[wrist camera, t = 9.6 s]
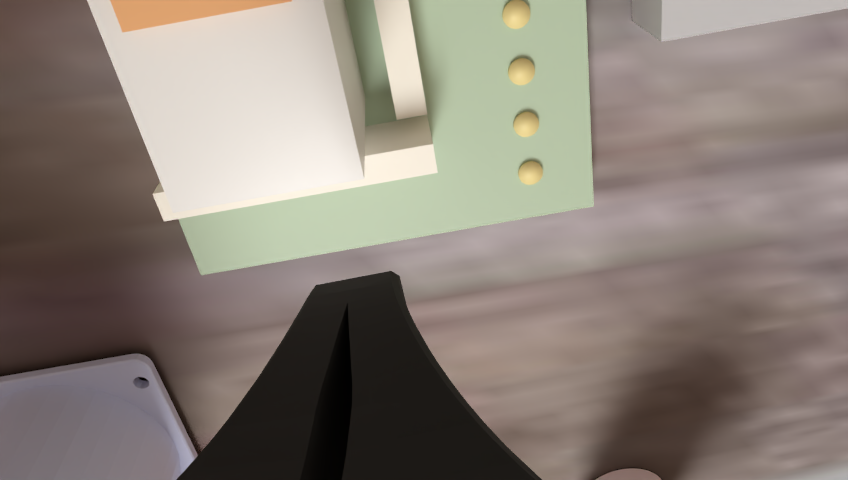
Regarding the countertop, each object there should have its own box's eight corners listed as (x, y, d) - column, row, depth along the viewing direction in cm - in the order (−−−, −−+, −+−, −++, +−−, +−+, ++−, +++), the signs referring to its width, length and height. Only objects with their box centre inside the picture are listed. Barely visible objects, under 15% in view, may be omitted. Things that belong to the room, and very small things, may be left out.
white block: (365, 97, 18) (364, 185, 14) (218, 123, 18) (169, 220, 14) (320, -110, 16) (301, -86, 11) (150, -78, 16) (62, -41, 11)
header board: (584, 191, 21) (617, 245, 19) (207, 257, 22) (183, 320, 19) (562, -286, 15) (606, -313, 12) (35, -185, 15) (-38, -188, 13)
